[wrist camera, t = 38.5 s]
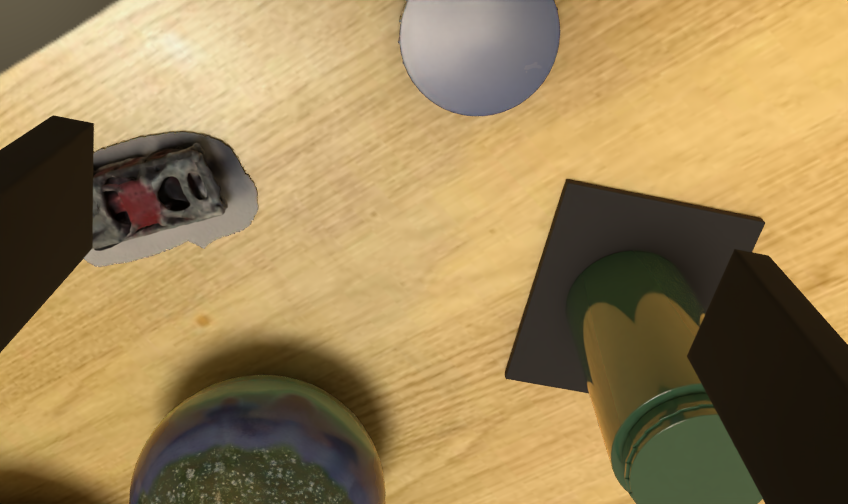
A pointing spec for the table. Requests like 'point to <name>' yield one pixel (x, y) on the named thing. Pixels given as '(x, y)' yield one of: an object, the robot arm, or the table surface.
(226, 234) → the toy car
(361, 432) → the vase
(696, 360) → the robot arm
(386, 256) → the table surface
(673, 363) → the jar
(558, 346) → the mat
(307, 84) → the table surface
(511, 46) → the lid
